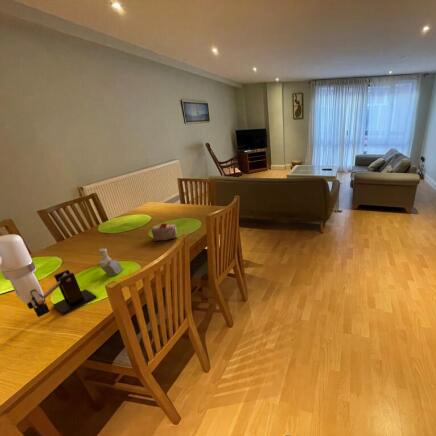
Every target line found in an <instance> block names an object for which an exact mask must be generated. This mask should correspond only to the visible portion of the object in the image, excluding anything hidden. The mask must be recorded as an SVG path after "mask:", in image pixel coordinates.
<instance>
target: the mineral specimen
mask: <svg viewBox="0 0 436 436" xmlns="http://www.w3.org/2000/svg"><path fill="white" fill-rule="evenodd" d="M98 263H99V266H100V269H101V270H102V271H103V272H105V273H106V275H107V276H109V277H112V276H116V275H118V274H120V272H121V271H122V270H123V267H122V265H121V264H120V263H119V262H118V260H116V259H111V260H104V261H101V260H100V261H99V262H98Z"/></svg>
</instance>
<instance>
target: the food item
mask: <svg viewBox="0 0 436 436" xmlns="http://www.w3.org/2000/svg"><path fill="white" fill-rule="evenodd" d="M151 233H152V238H153V241H154V242H156V241H164V242H165V241H168V240H173V239H174V240H175V238H174V237H177V236H178V232H177V225H176V224H175V223H174V224H168V223H165V222H163V223H161V224H160V225H153V227H152V228H151Z"/></svg>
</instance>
